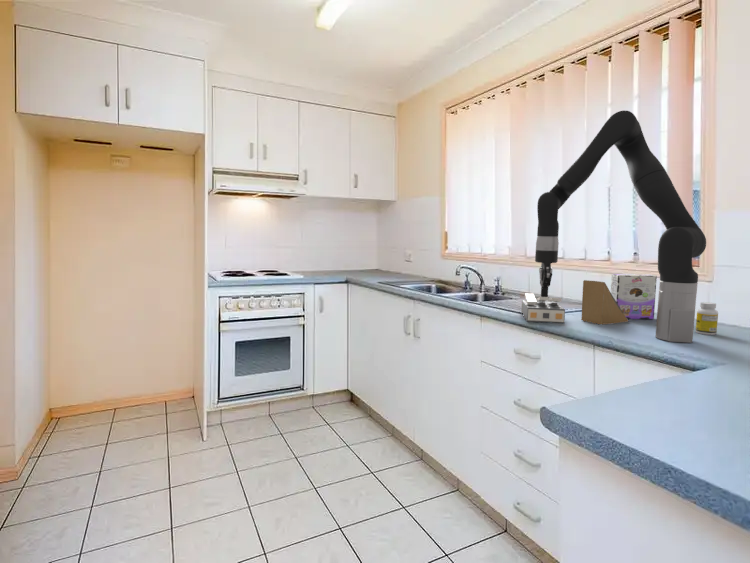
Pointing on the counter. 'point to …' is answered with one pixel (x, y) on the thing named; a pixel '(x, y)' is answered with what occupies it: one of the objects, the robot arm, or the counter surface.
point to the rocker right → (555, 300)
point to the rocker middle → (542, 299)
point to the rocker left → (530, 299)
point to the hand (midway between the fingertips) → (544, 297)
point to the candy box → (635, 294)
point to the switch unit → (543, 312)
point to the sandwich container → (600, 304)
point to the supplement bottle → (707, 319)
